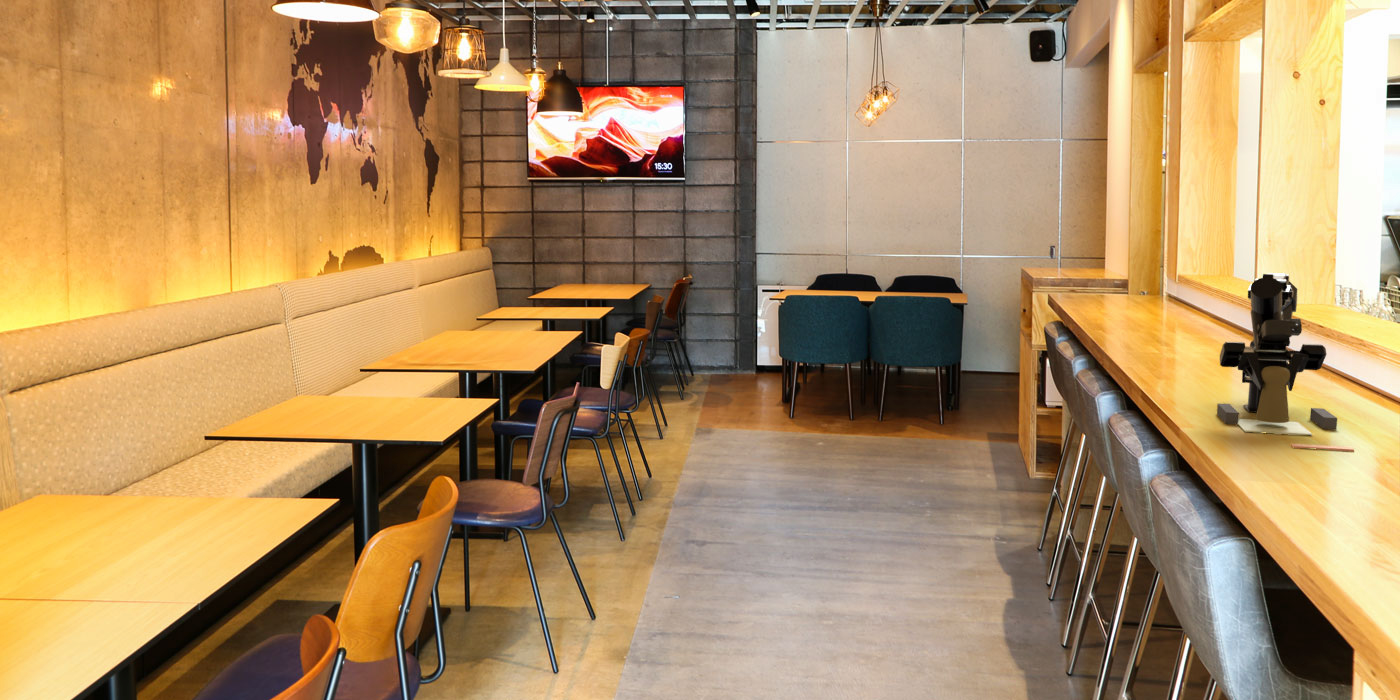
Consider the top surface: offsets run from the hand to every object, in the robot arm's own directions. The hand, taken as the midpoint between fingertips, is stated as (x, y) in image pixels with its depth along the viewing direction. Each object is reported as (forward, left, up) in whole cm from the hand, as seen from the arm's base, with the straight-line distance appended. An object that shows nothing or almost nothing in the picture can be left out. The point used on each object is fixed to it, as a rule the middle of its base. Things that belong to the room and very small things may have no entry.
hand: (1276, 389), depth 207 cm
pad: (-1, 0, -8) cm, 8 cm away
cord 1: (-8, -7, -8) cm, 14 cm away
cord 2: (-8, +11, -8) cm, 16 cm away
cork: (-1, 0, -7) cm, 7 cm away
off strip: (+16, +5, -8) cm, 18 cm away
